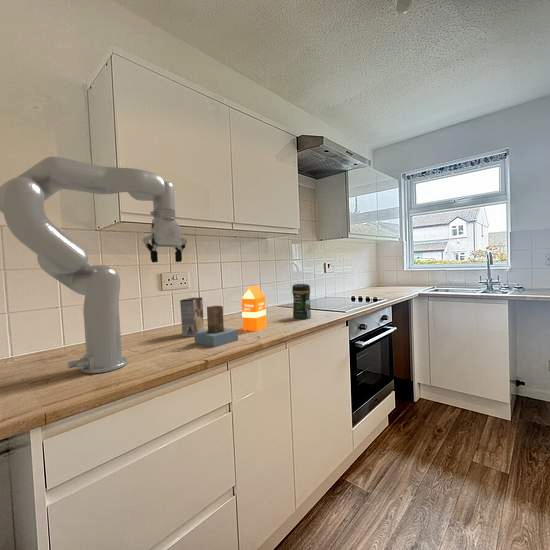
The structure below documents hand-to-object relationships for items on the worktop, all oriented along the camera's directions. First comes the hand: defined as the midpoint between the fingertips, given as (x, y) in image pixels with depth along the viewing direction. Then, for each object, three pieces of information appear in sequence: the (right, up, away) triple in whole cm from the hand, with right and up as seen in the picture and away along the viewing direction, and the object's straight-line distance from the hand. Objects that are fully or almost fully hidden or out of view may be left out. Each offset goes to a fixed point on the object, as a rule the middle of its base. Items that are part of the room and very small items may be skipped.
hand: (167, 262), depth 112 cm
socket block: (+17, -31, +7) cm, 36 cm away
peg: (+17, -31, +7) cm, 36 cm away
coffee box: (+4, -32, +23) cm, 39 cm away
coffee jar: (+55, -28, +51) cm, 80 cm away
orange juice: (+31, -30, +28) cm, 52 cm away
